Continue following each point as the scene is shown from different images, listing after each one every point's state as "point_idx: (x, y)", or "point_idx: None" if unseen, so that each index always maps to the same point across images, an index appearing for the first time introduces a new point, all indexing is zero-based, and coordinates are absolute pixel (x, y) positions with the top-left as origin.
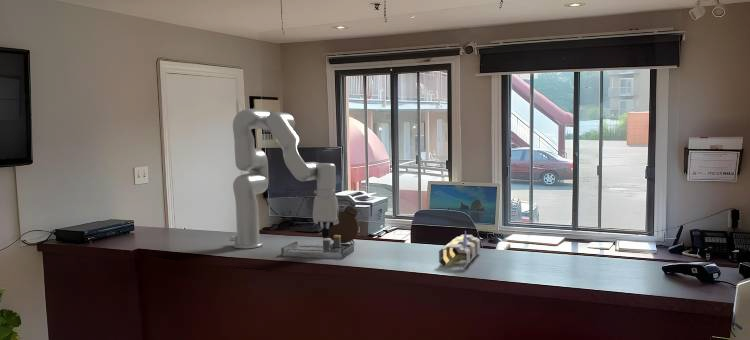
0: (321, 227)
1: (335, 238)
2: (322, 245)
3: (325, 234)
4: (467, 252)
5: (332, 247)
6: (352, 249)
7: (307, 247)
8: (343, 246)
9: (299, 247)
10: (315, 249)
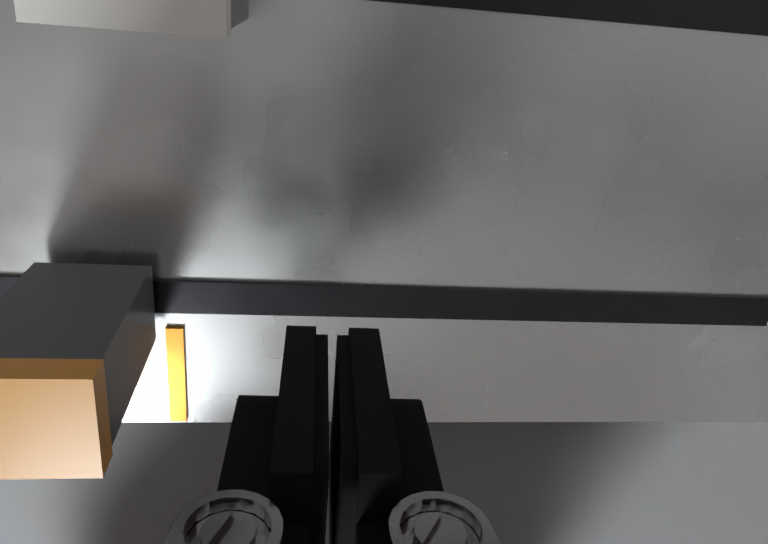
0: (466, 529)
1: (60, 345)
2: None
3: (308, 371)
4: None
5: (192, 280)
6: None
7: (634, 237)
8: None
9: (765, 220)
10: (460, 87)
